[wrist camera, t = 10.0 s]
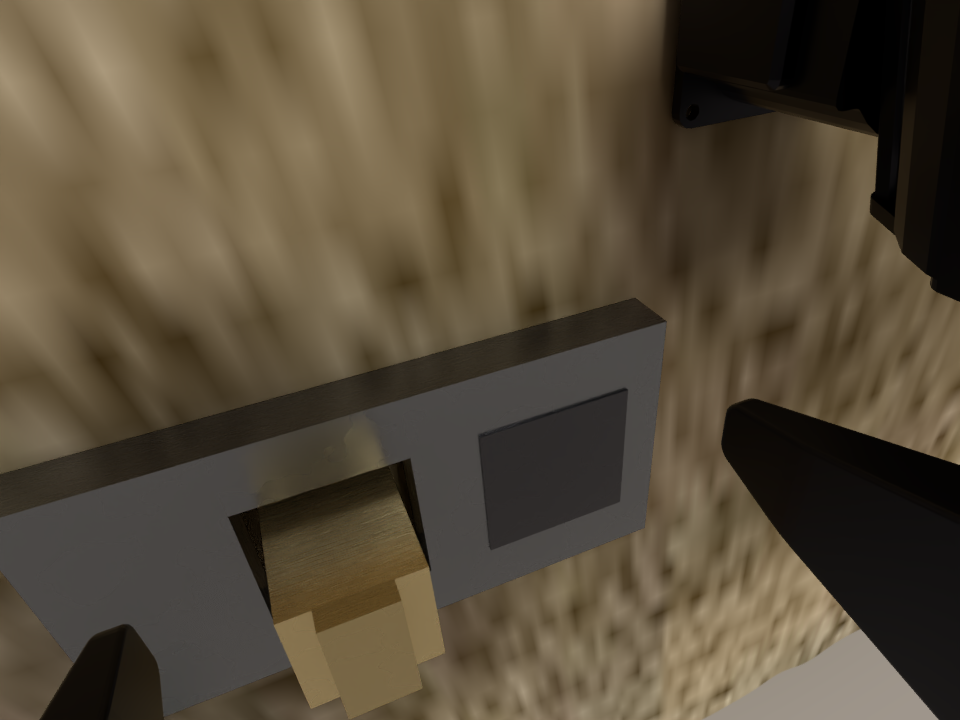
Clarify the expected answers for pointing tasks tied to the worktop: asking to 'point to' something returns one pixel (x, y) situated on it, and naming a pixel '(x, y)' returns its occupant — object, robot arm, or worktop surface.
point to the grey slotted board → (334, 457)
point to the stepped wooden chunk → (350, 592)
